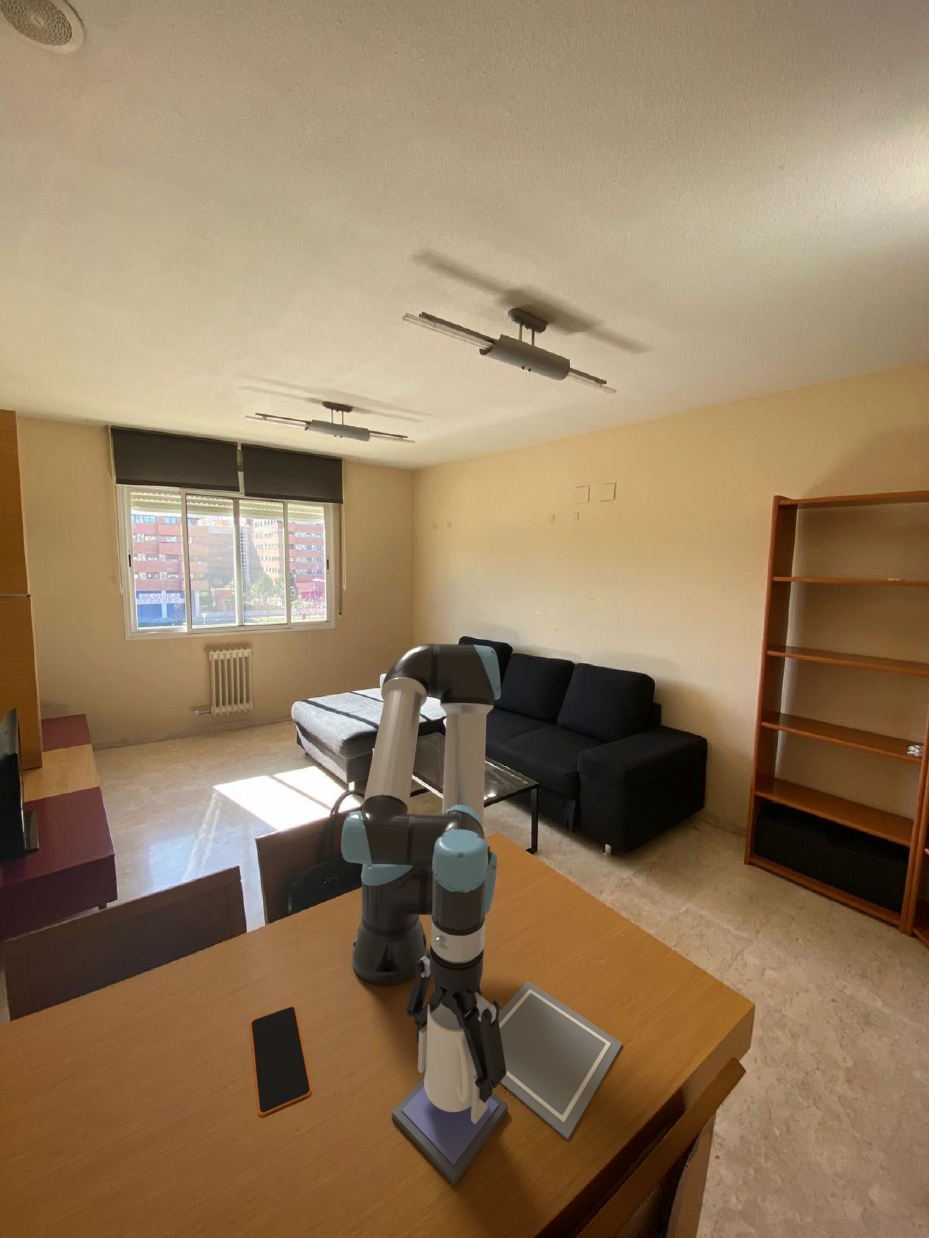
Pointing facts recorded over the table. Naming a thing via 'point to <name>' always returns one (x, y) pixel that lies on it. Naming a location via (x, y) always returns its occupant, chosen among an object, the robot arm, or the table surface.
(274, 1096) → the smartphone
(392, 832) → the robot arm
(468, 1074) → the mug
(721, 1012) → the table surface
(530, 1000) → the print mat
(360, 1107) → the table surface
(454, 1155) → the ink pad
